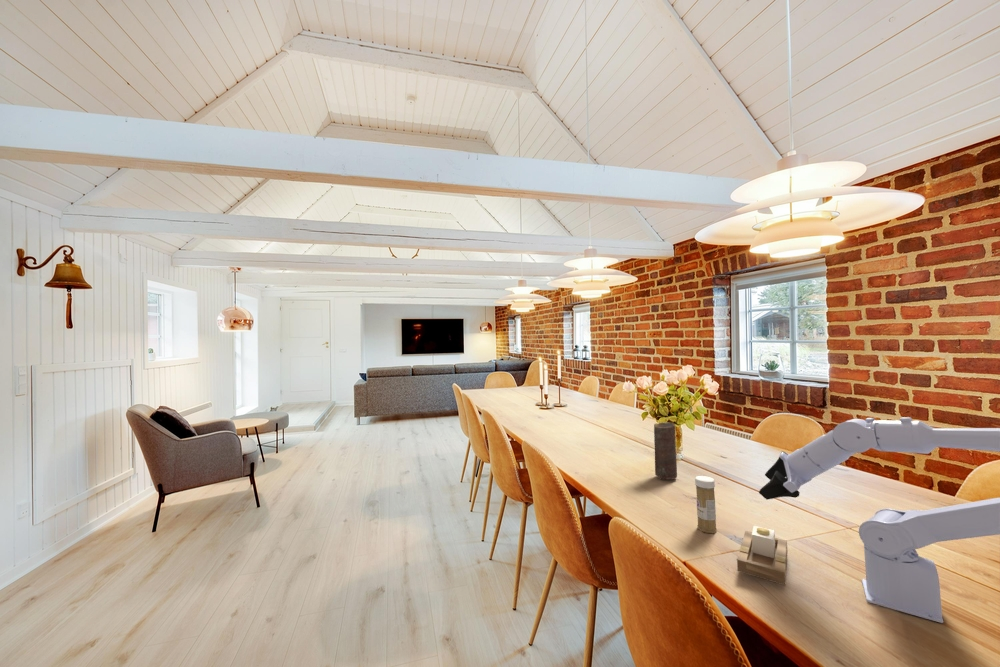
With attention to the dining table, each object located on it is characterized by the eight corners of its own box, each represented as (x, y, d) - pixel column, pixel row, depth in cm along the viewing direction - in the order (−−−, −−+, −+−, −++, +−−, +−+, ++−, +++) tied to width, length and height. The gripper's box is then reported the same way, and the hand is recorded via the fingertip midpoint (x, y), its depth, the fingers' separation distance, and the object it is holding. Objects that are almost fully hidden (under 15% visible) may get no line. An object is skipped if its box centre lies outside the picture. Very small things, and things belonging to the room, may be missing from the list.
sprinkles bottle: (693, 526, 101) (691, 475, 102) (709, 524, 102) (707, 474, 102) (704, 534, 97) (701, 481, 97) (721, 533, 97) (718, 480, 98)
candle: (681, 482, 133) (678, 425, 134) (660, 482, 133) (657, 426, 134) (671, 474, 141) (669, 421, 141) (652, 475, 141) (649, 421, 141)
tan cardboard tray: (746, 545, 91) (745, 529, 91) (787, 556, 86) (786, 539, 86) (738, 576, 79) (737, 558, 79) (785, 591, 74) (784, 571, 74)
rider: (754, 543, 88) (753, 523, 88) (775, 548, 85) (774, 528, 85) (752, 552, 84) (751, 532, 84) (774, 558, 81) (773, 537, 82)
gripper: (802, 428, 87) (756, 458, 95) (794, 459, 77) (744, 489, 85) (832, 452, 84) (782, 480, 93) (828, 487, 74) (772, 515, 83)
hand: (765, 486), depth 89 cm, fingers open, 7 cm apart
